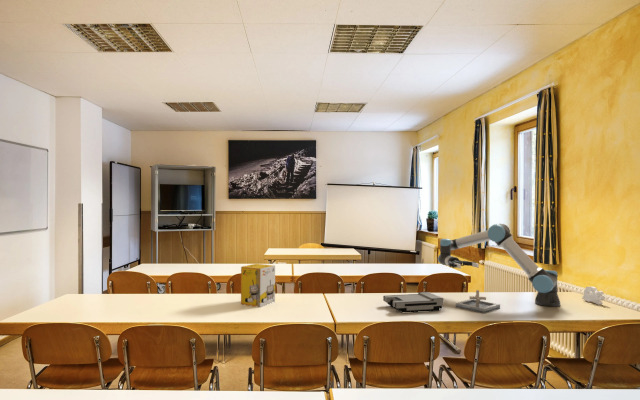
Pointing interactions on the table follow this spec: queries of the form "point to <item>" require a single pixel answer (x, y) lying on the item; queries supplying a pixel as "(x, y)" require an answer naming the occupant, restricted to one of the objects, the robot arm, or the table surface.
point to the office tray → (415, 302)
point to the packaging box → (257, 284)
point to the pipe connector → (477, 298)
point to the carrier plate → (482, 307)
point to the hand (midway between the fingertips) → (469, 266)
